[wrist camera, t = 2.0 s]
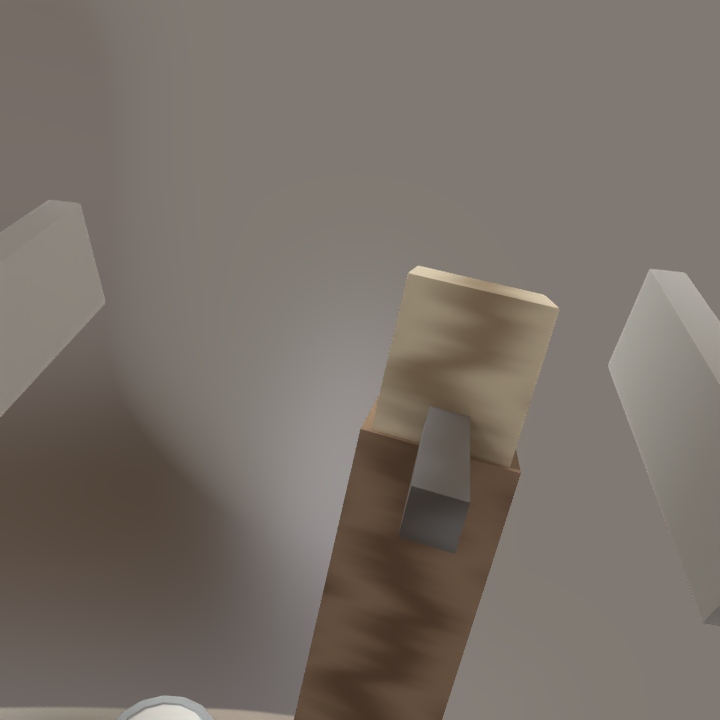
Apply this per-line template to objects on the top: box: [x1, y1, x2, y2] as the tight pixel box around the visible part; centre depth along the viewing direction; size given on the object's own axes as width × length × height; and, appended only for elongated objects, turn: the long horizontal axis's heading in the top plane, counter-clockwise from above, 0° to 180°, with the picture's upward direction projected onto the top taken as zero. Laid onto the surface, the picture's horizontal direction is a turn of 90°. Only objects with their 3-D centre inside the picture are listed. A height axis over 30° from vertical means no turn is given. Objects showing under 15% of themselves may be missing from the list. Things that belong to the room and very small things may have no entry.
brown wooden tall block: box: [294, 396, 521, 720], centre depth 34 cm, size 8×6×29 cm
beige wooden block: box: [371, 266, 559, 554], centre depth 25 cm, size 7×14×8 cm, turn 169°
